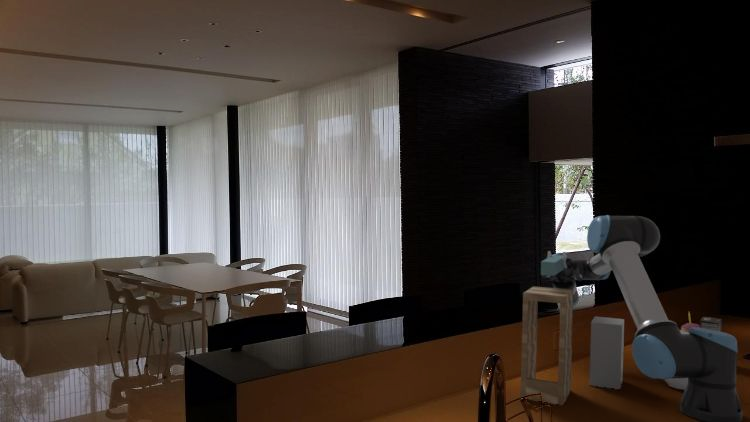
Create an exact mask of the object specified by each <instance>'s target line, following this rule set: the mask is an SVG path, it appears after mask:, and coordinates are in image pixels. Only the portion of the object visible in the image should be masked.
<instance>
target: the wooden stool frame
mask: <svg viewBox="0 0 750 422" xmlns="http://www.w3.org/2000/svg"><path fill="white" fill-rule="evenodd" d="M539 302H541V303H542V302H543V303H555V304H559V307H560V308H559V336H558V337H559V339H558V341H559V343H558V344H559V345H558V371H557V372H558V373H557V374H558V375H557V376H558V377H557V381H553V380H552V381H551V380H545V379H538V378H536V377H537V353H538V352H537V347H538V343H537V342H538V307H539V306H538V305H539V304H538V303H539ZM573 309H574V308H573V290H572V289H559V288H554V287H545V286H543V287H542V286H534V285H533V286H531V287H530V288H528V289H527V290H526V291H523V293H522V320H521V323H522V324H521V325H522V326H521V327H522V329H521V366H520V398H521V397H524V396H527V395H531V394H538V393H541V396H542V401H543V402H542V403H544V402H548V403H547V404H550V403H551V404H550V405H556V404H559V405H558V406H564V405H565V403H564V402H566V401H567V399H568V398H569V397H568V396H569V395H570V393H571V390H572V389H571V387H572V386H571V385H572V384H571V383H572V348H573V347H572V345H573V316H574V315H573V311H574V310H573ZM531 398H532V399H531V400H532V402H537V403H539V402H538V401H539V400H540V397H539V396H534V397H531ZM531 400H530V401H531ZM563 404H564V405H563Z"/></svg>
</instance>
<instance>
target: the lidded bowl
mask: <svg viewBox="0 0 750 422" xmlns="http://www.w3.org/2000/svg"><path fill="white" fill-rule="evenodd" d="M663 380H664V381H665V382H666V384H667V385H668V387H670V388H673V389H677V390H683V391H685V388H686V386H687V384H688V378H673V379H663Z"/></svg>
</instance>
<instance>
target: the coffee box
mask: <svg viewBox="0 0 750 422" xmlns="http://www.w3.org/2000/svg"><path fill="white" fill-rule="evenodd" d="M722 320H723V319H722V318H717V317H711V316H702V317H701V319H700V320H699V325H700V328H705V329H711V330H716V331H720V332H722V330H723V328H722V325H723V324H722V323H723V321H722Z"/></svg>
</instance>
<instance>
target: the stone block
mask: <svg viewBox="0 0 750 422" xmlns="http://www.w3.org/2000/svg"><path fill="white" fill-rule="evenodd" d="M624 341H625V319H623V318H615V317H614V318H613V317H603V316H594V317H593V319H592V320H591V322H590V352H589V354H590V355H589V356H590V357H589V358H590V359H589V360H590V361H589V386H590V385H591V387H597V386H598V388H604V387H606V389H611V388H614V389H613V390H618V389H620V388H622V385H621V384H623V379H624V378H623V376H624V375H623V374H624V373H623V370H624V343H625V342H624ZM620 390H621V389H620Z"/></svg>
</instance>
